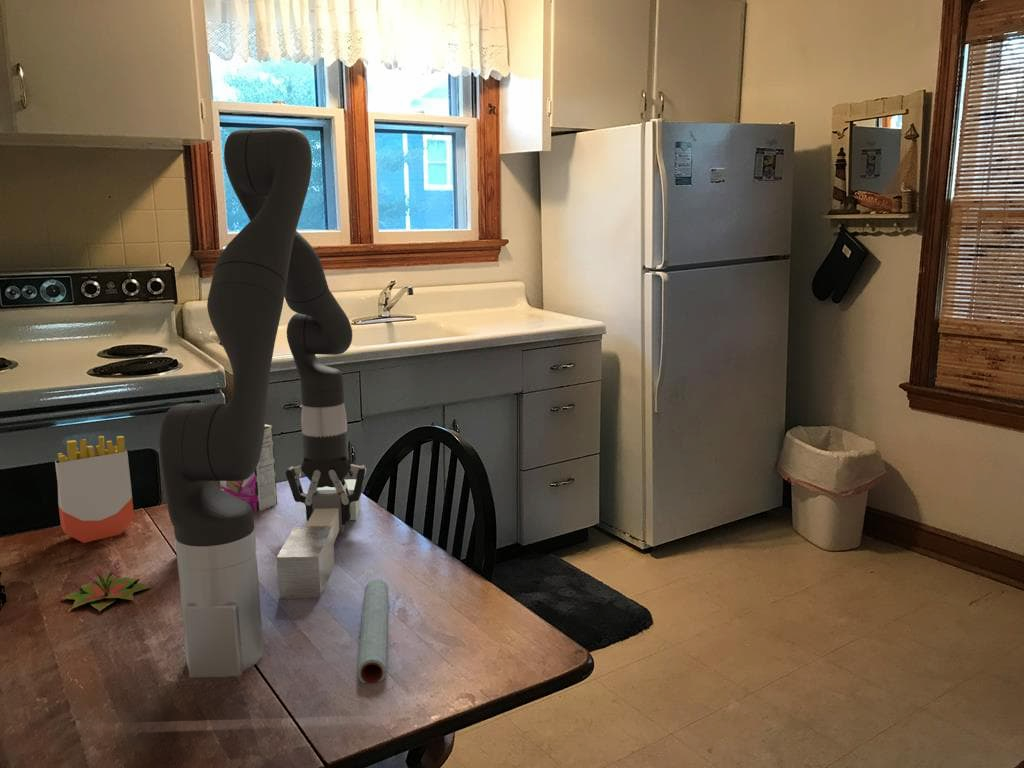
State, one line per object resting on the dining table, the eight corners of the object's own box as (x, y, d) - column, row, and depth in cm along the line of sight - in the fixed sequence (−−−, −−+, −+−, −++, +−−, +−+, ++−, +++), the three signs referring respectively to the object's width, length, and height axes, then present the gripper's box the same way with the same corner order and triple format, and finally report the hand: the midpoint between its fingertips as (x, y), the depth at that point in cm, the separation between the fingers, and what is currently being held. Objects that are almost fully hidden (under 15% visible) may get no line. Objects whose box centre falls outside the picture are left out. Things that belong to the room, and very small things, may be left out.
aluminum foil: (386, 685, 99) (385, 659, 99) (329, 689, 99) (328, 663, 98) (388, 599, 121) (387, 578, 121) (342, 603, 121) (341, 581, 120)
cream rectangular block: (334, 563, 133) (332, 525, 132) (320, 597, 121) (318, 556, 120) (296, 564, 133) (294, 526, 131) (279, 598, 121) (276, 557, 120)
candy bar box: (218, 504, 160) (212, 422, 157) (239, 497, 164) (233, 416, 161) (258, 515, 154) (252, 430, 151) (279, 507, 159) (273, 424, 155)
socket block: (360, 511, 156) (359, 479, 155) (356, 523, 150) (354, 489, 149) (317, 512, 156) (316, 480, 154) (311, 524, 150) (309, 490, 148)
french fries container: (62, 539, 144) (49, 438, 140) (129, 525, 150) (119, 428, 146) (67, 547, 140) (54, 444, 136) (135, 532, 147) (125, 433, 143)
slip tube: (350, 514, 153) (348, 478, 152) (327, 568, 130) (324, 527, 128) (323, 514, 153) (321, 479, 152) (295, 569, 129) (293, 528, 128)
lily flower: (43, 604, 121) (39, 575, 120) (116, 573, 131) (113, 546, 130) (97, 623, 115) (93, 592, 114) (168, 588, 125) (166, 560, 125)
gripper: (276, 435, 138) (283, 532, 141) (363, 434, 138) (367, 530, 142) (287, 424, 145) (292, 516, 149) (369, 423, 146) (373, 515, 149)
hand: (329, 523), depth 145 cm, fingers closed on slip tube, 4 cm apart
